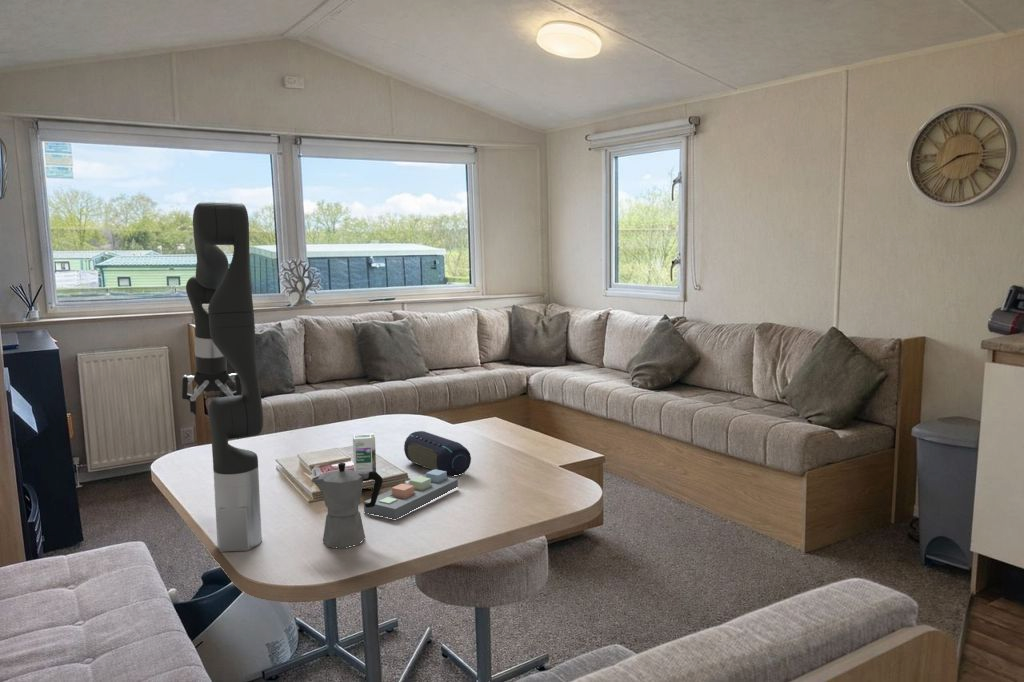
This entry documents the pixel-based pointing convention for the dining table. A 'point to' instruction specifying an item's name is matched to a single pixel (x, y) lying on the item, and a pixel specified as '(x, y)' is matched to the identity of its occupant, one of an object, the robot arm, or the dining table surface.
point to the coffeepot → (345, 504)
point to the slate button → (437, 475)
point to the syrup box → (364, 453)
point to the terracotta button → (403, 491)
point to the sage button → (420, 483)
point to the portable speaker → (437, 453)
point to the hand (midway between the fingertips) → (212, 412)
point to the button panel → (408, 499)
